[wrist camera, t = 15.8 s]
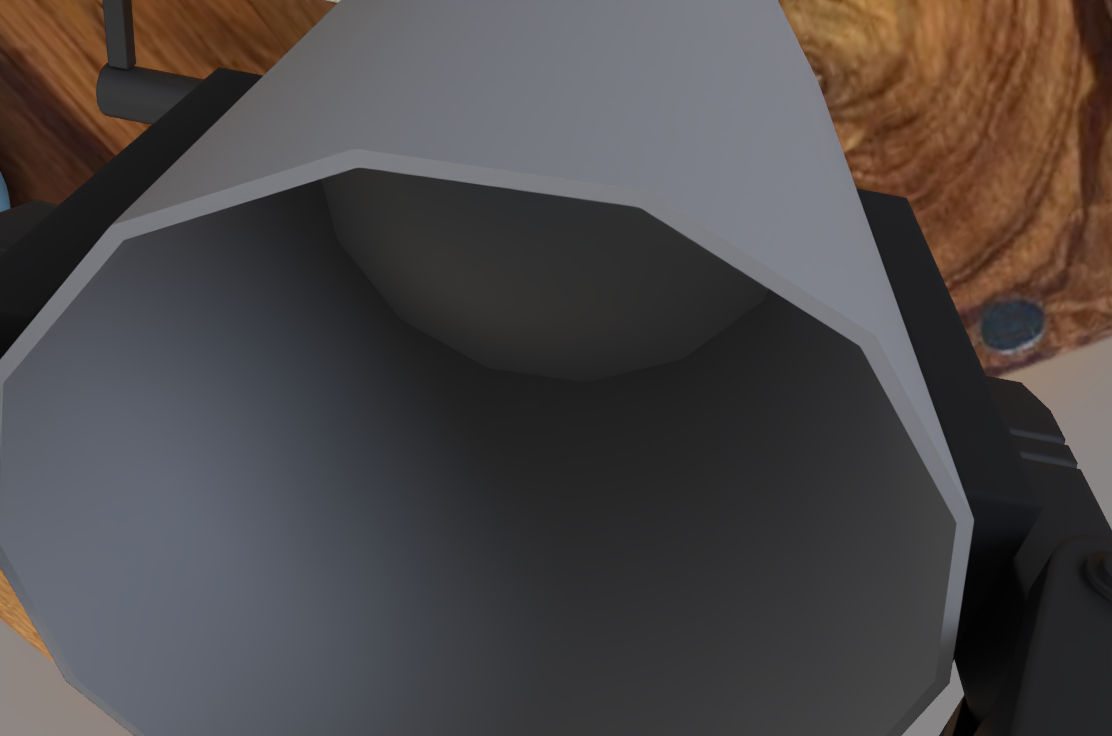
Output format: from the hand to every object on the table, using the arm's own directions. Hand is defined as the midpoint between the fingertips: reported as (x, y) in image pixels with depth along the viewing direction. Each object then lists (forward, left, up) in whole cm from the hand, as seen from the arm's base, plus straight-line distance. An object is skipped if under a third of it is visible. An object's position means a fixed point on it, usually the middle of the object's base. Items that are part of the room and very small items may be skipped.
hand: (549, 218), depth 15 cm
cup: (0, 0, -3) cm, 3 cm away
